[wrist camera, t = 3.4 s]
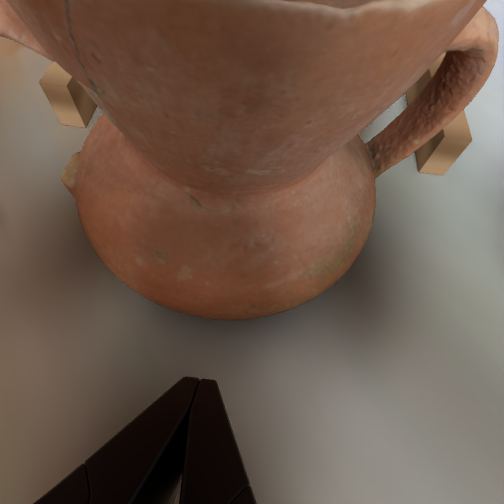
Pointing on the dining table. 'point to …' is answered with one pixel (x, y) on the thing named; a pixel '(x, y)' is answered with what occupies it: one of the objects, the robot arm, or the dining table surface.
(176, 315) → the dining table surface
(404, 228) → the dining table surface
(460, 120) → the stop board
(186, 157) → the ceramic jug
